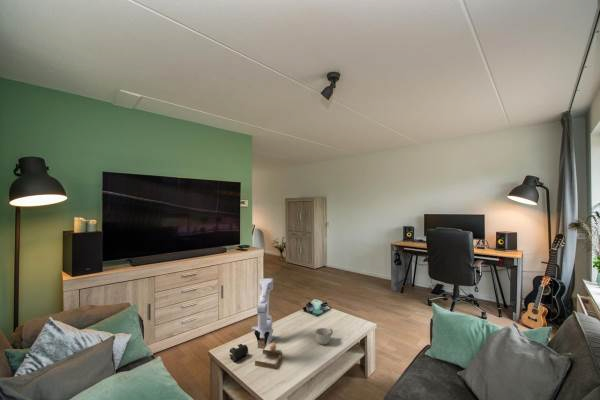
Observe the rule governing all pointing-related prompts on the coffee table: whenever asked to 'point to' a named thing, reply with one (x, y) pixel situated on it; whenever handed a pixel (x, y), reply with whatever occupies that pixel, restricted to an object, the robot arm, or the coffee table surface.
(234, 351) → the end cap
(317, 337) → the teacup
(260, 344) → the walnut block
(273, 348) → the tan rounded capsule
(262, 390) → the coffee table surface
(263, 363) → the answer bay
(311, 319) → the coffee table surface
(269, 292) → the robot arm
